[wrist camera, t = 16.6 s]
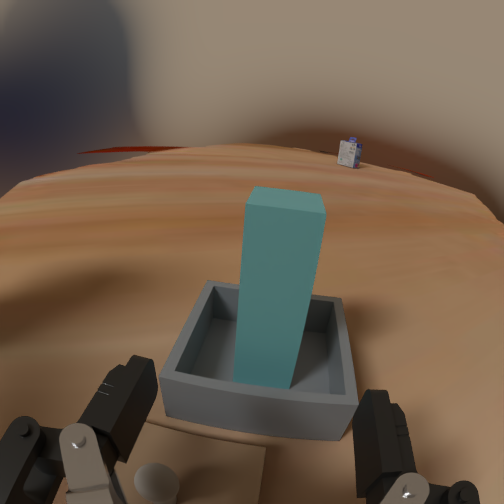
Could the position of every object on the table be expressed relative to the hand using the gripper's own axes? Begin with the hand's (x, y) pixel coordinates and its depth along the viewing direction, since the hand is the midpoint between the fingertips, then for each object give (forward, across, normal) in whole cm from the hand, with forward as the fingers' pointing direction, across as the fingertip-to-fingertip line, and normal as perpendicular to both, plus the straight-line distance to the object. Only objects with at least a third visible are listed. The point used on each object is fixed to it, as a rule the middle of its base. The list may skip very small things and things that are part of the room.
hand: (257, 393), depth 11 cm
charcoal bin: (+11, 0, -10) cm, 15 cm away
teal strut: (+11, 0, -10) cm, 15 cm away
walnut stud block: (-2, -4, -10) cm, 12 cm away
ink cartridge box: (+146, +28, -11) cm, 149 cm away
